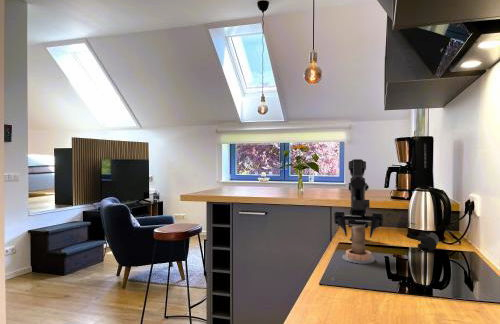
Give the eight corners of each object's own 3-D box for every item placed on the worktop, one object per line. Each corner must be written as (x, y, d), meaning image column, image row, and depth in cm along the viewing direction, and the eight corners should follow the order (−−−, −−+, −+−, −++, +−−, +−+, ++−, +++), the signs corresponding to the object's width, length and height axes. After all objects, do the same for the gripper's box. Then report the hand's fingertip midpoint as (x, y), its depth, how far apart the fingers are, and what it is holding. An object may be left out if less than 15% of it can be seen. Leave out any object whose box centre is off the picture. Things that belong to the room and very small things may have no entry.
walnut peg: (356, 254, 141) (356, 224, 141) (367, 257, 137) (367, 226, 137) (349, 256, 138) (349, 226, 138) (360, 259, 134) (360, 228, 134)
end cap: (436, 253, 145) (436, 237, 145) (417, 251, 149) (417, 235, 149) (438, 248, 153) (438, 232, 153) (421, 246, 157) (420, 231, 157)
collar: (344, 253, 145) (344, 247, 145) (375, 256, 141) (375, 249, 141) (340, 261, 134) (340, 254, 134) (373, 265, 130) (373, 257, 130)
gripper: (334, 191, 144) (332, 223, 134) (382, 192, 139) (385, 225, 128) (335, 208, 152) (334, 239, 141) (381, 209, 146) (383, 242, 136)
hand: (358, 236), depth 137 cm, fingers open, 9 cm apart
